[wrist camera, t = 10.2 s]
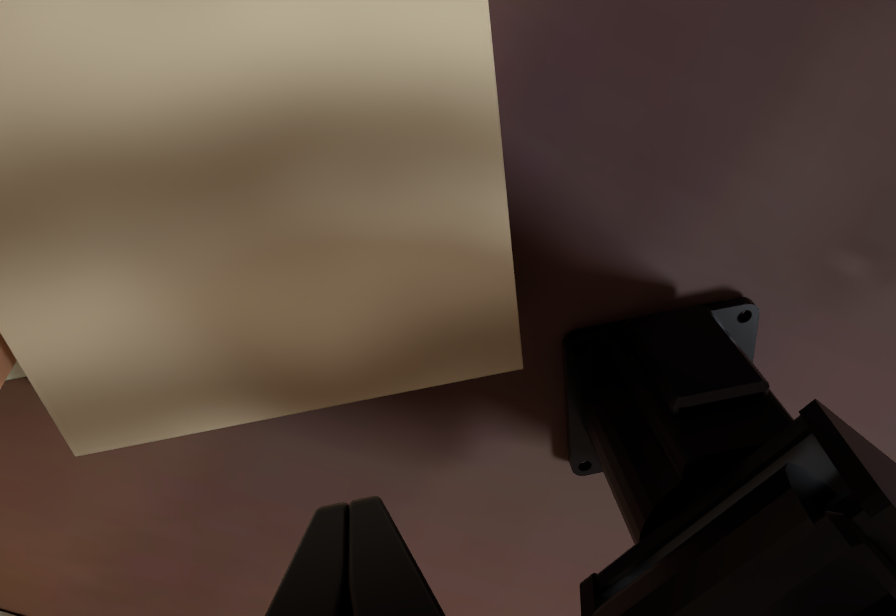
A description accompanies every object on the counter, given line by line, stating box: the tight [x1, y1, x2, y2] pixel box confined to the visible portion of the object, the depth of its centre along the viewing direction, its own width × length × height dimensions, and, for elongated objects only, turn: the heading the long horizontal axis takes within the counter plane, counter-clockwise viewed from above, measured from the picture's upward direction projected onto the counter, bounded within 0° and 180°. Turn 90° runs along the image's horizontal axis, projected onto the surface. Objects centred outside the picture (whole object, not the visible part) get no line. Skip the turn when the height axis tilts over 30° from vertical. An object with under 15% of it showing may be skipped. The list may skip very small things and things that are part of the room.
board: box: [0, 0, 523, 457], centre depth 18 cm, size 14×13×2 cm
